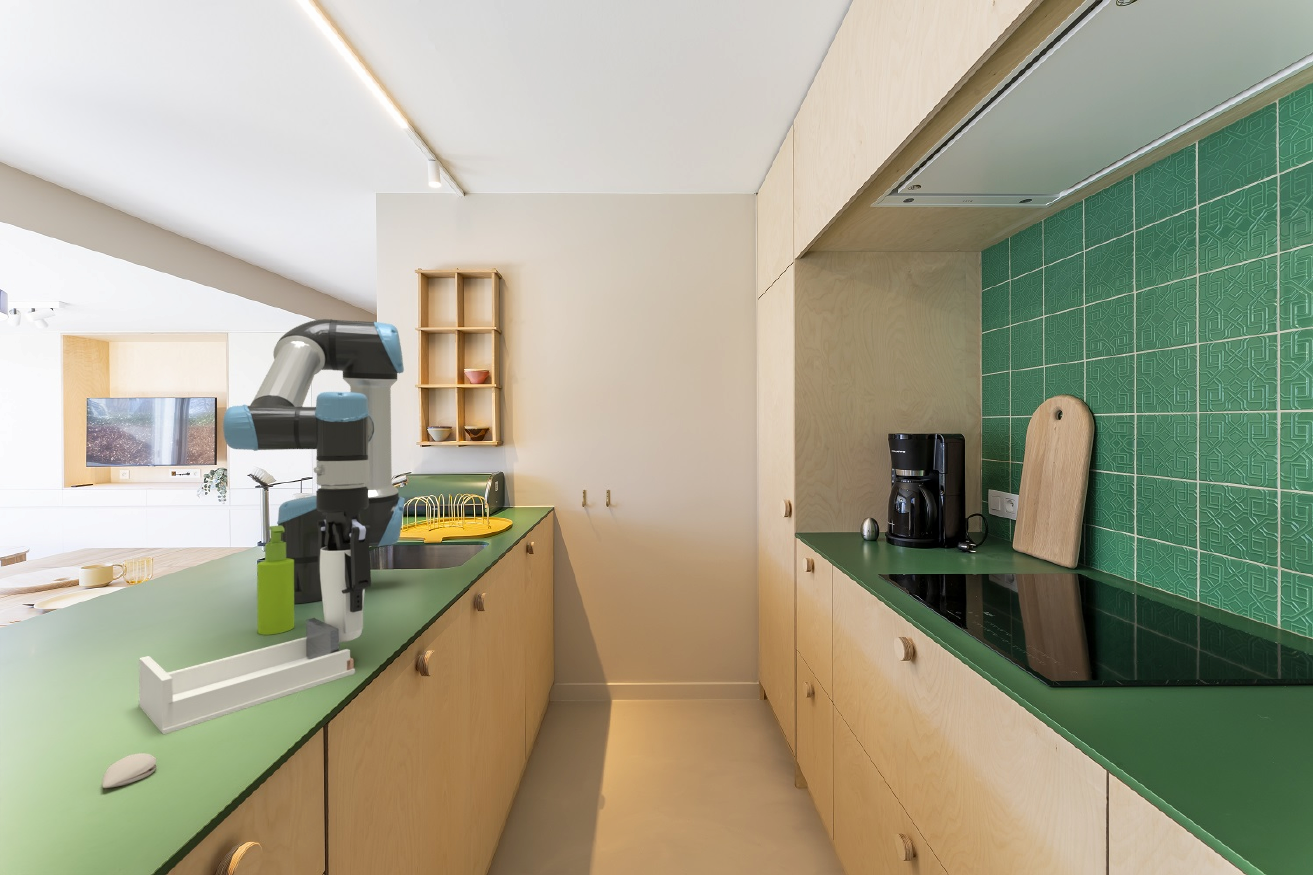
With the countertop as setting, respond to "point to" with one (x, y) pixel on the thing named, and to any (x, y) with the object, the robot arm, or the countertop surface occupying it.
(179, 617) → the countertop surface
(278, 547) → the soap dispenser
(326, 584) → the white tumbler cup
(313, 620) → the pusher plate
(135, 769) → the clam shell
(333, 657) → the pusher lane
